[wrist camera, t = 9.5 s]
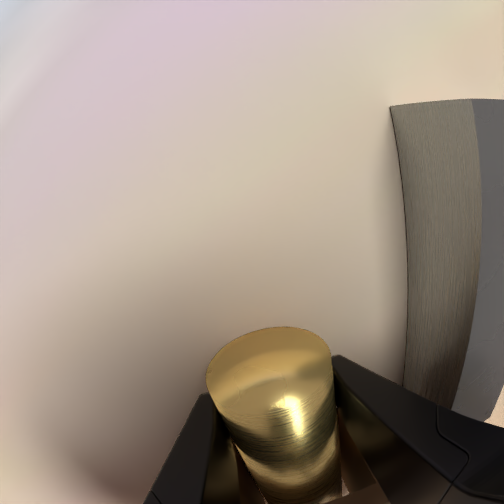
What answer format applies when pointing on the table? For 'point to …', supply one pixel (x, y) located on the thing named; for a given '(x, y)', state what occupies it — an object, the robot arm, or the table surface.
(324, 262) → the table surface
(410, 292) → the block
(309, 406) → the brass rod
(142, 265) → the table surface
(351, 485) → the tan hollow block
